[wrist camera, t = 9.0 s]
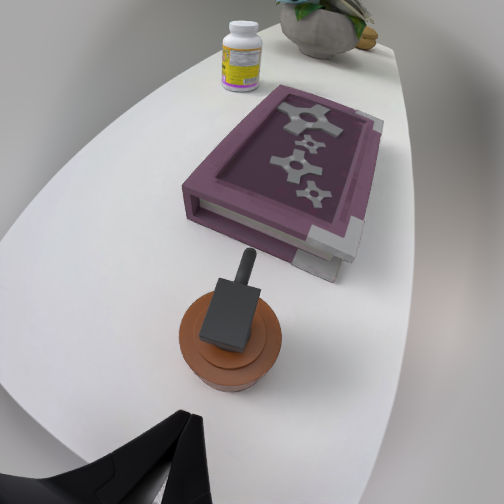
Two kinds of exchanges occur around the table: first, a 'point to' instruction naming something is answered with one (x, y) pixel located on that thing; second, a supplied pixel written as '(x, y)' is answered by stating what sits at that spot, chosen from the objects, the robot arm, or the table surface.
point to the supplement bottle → (241, 57)
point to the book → (291, 180)
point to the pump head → (232, 308)
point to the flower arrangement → (324, 25)
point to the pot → (367, 38)
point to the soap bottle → (227, 361)
